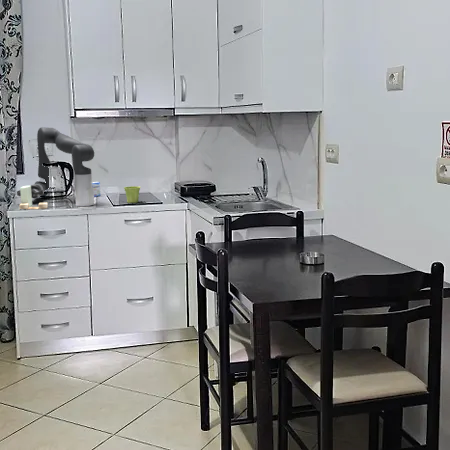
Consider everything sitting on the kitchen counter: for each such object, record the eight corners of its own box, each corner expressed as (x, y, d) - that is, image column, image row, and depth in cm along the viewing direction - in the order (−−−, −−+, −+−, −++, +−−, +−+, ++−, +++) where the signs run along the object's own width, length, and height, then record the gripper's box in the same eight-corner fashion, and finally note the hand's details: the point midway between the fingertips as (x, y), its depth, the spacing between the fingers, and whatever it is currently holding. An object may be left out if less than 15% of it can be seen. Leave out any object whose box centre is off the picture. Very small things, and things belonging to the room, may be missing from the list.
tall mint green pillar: (32, 205, 371) (31, 185, 370) (28, 207, 364) (26, 187, 362) (25, 205, 371) (24, 185, 370) (21, 207, 364) (20, 187, 362)
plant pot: (131, 204, 371) (131, 188, 370) (120, 202, 377) (120, 187, 376) (144, 202, 378) (144, 186, 377) (133, 200, 384) (133, 185, 383)
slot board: (47, 206, 365) (47, 202, 364) (46, 208, 358) (46, 204, 358) (21, 207, 362) (20, 203, 362) (19, 209, 356) (19, 205, 355)
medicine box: (91, 197, 402) (90, 183, 401) (86, 197, 405) (85, 182, 403) (100, 196, 408) (100, 182, 407) (95, 195, 411) (95, 181, 409)
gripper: (22, 184, 384) (13, 187, 368) (47, 184, 384) (39, 187, 368) (23, 197, 385) (14, 201, 369) (48, 197, 385) (40, 200, 369)
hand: (27, 194), depth 368 cm, fingers open, 8 cm apart
